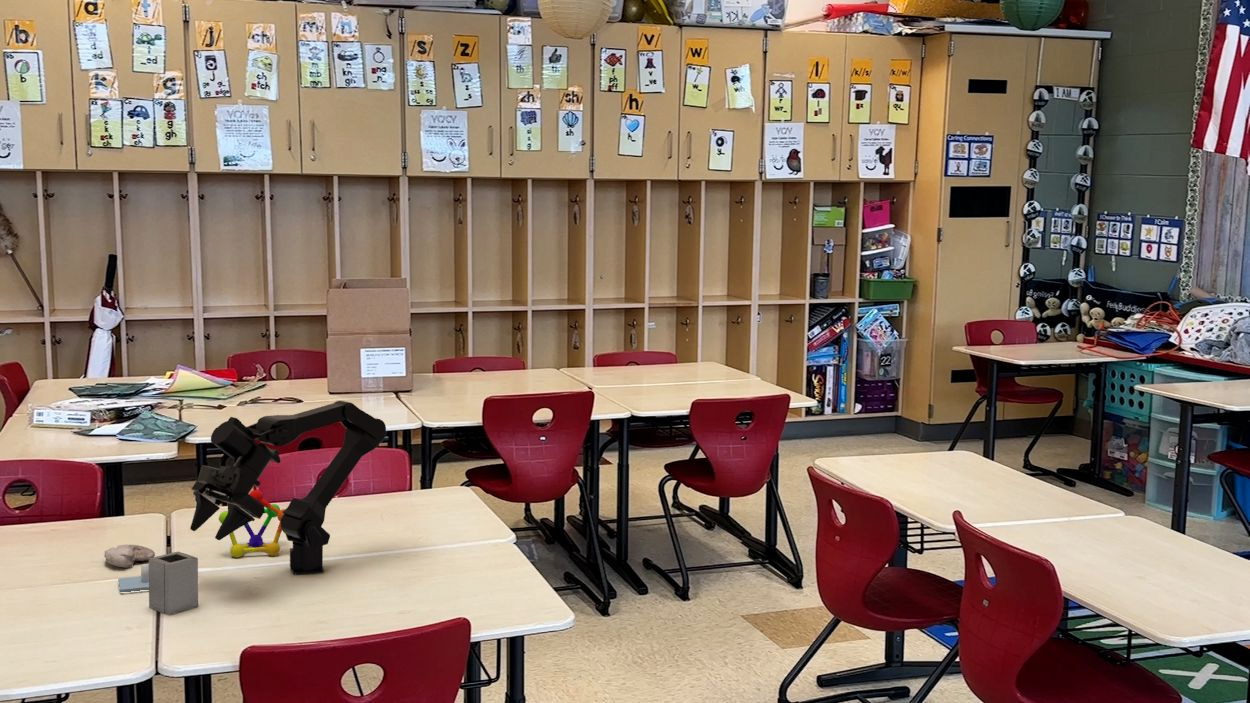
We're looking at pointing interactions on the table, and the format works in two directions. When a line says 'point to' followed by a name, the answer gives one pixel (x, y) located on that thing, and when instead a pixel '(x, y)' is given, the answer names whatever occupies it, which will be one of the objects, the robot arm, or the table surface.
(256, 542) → the educational toy
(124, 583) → the shaft stand
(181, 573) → the open metal box
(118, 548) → the fossil
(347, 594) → the table surface
